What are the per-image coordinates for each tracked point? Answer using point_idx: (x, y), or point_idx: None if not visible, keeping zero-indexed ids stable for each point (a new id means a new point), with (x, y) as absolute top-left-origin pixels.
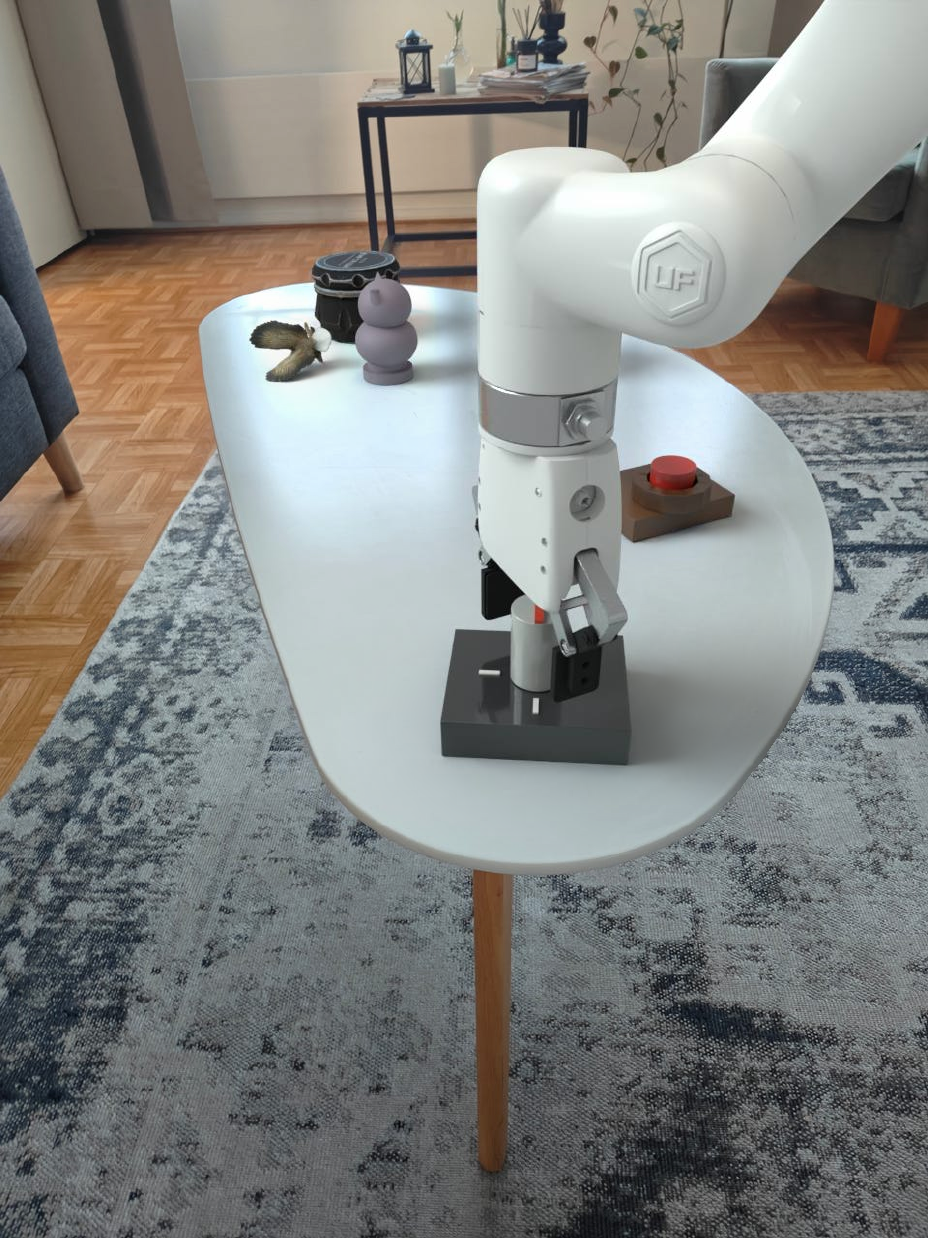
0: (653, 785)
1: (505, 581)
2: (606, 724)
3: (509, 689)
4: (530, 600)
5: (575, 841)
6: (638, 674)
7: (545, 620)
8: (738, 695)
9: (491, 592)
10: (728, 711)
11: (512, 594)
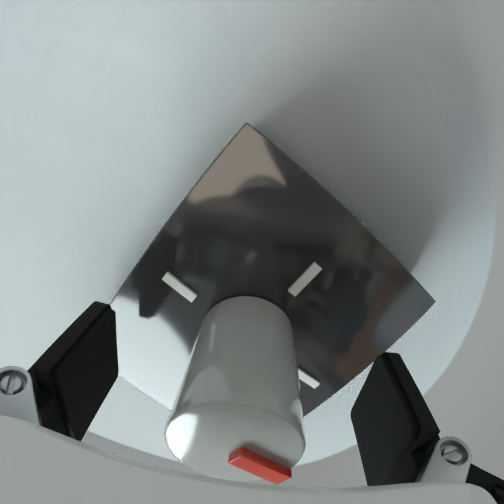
0: (445, 271)
1: (82, 398)
2: (404, 322)
3: None
4: (196, 446)
5: (424, 377)
6: (282, 113)
7: (284, 462)
8: (408, 44)
9: (94, 409)
10: (424, 82)
11: (96, 360)
